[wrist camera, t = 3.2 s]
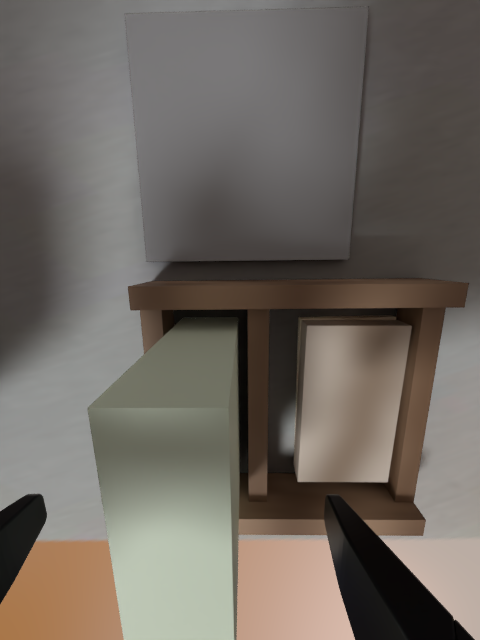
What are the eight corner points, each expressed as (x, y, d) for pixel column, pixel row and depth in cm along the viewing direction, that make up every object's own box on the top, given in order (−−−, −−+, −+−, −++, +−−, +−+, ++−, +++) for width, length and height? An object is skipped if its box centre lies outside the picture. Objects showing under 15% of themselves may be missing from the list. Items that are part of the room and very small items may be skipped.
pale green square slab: (191, 458, 16) (131, 688, 8) (183, 317, 14) (87, 407, 6) (240, 458, 16) (235, 690, 8) (238, 317, 14) (228, 407, 6)
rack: (169, 486, 17) (154, 533, 14) (152, 281, 14) (127, 286, 11) (391, 486, 16) (423, 535, 14) (420, 278, 14) (468, 283, 11)
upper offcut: (293, 465, 16) (297, 482, 15) (301, 320, 14) (307, 325, 13) (376, 465, 16) (387, 482, 15) (397, 320, 14) (412, 325, 13)
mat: (150, 261, 14) (146, 261, 13) (130, 26, 11) (124, 13, 11) (344, 259, 13) (348, 259, 13) (362, 19, 11) (368, 6, 11)
